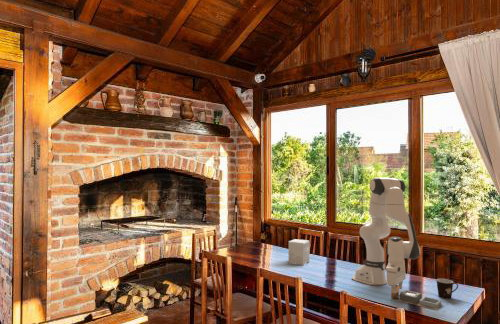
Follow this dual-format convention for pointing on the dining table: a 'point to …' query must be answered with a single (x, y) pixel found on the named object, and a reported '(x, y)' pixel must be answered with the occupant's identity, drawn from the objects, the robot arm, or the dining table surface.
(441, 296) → the coffee mug
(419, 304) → the bench board
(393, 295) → the cell
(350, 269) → the dining table surface
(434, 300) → the tray
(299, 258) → the supplement box
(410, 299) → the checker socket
